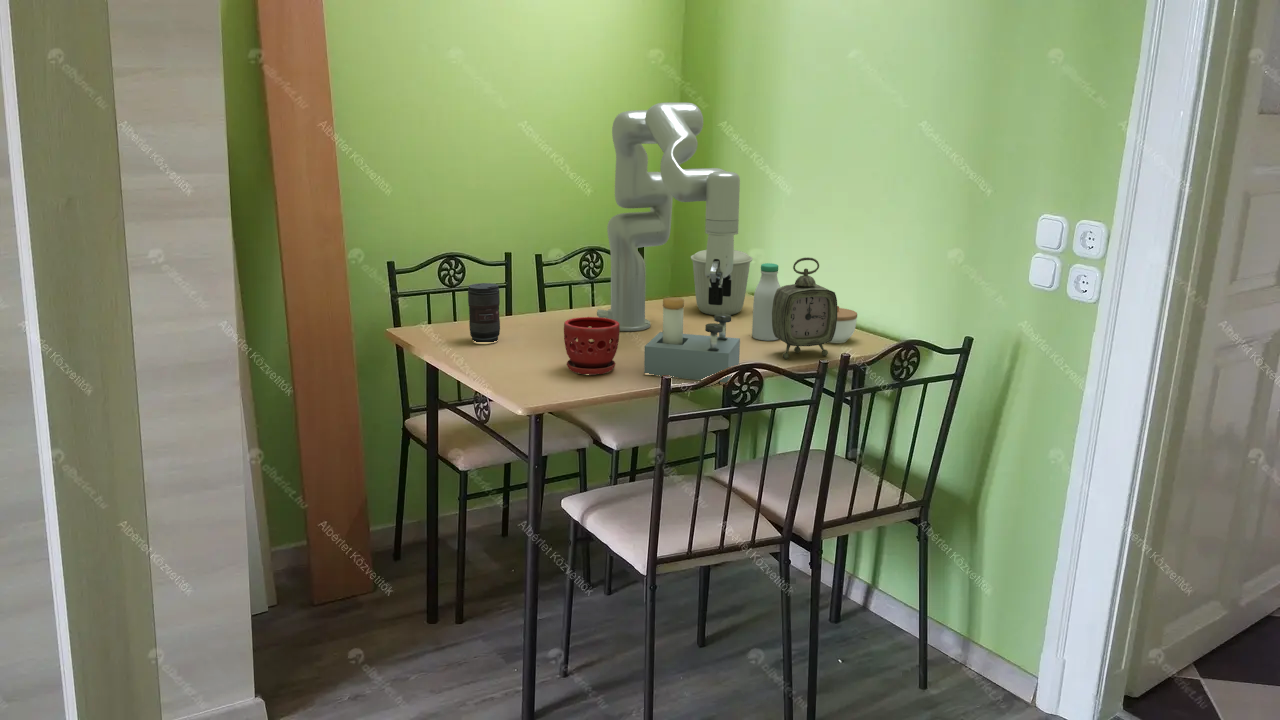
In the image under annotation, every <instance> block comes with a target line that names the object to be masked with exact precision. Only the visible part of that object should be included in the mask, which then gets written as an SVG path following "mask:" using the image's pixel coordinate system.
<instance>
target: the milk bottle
mask: <svg viewBox="0 0 1280 720" xmlns="http://www.w3.org/2000/svg"><path fill="white" fill-rule="evenodd" d="M760 273H761V276H760V279H759V281H758V284H757V286H756V288H755V291H754V295H753V302H752V303H753V307H752V323H751V324H752V326H751V327H752V328H751V330H752V331H751V336H752V337H753V339H755V340H759V341H770V342H771V341H777V340H779V339H778V338H777V337H775V335H774V333H773V328H772V308H773V300H774V296H775V293H776V291H777V289H778V288H780V287H781V285H780V282H779V278H778V274H779V265H778V264H777V263H772V262H771V263H770V262H767V263H766V262H765V263H761V265H760Z"/></svg>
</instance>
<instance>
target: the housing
mask: <svg viewBox="0 0 1280 720" xmlns="http://www.w3.org/2000/svg"><path fill="white" fill-rule="evenodd" d="M740 346H741V338H738V337H728V336H726V339H725V341H723V340H719V336H717V351H710V335H704V334H702V335H701V334H693V333H691V334H690V333H683V345H676V344H665V343H663V331H660V332H658V333H657V334H656V335H655V336H654V337H653V338H652V339H651V340H649V341H648V342H647V343H646V344H645V345H644V351H643V352H644V361H643V365H644V366H643V367H644V368H643V370H644V373H649V374H654V375H658V376H657V377H662V375H670V376H672V377H671V378H672V379H673V376H674V377H678V378H677V379H684V380H685V379H686V380H695V381H702V380H701V379H703V378H705V377H707V376H710V375H712V374H715V373H717V372H719V371H721V370H724V369H726V368H728V367H731V366H734V365H738V364H739V365H740V349H741V348H740ZM644 373H643V374H644ZM659 375H660V376H659ZM730 377H731V376H727V377H725V378H723V379H722V380H720V382H719V383H725V384H726V383H727V381H728V380H729V378H730ZM731 378H732V377H731ZM729 381H730V380H729Z"/></svg>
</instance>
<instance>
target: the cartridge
mask: <svg viewBox="0 0 1280 720" xmlns="http://www.w3.org/2000/svg"><path fill="white" fill-rule="evenodd" d="M684 308H685V298H682V297H675V296H673V297H672V296H671V297H664V298H662V332H663V343H665V344H676V345H683V334H684Z"/></svg>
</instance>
